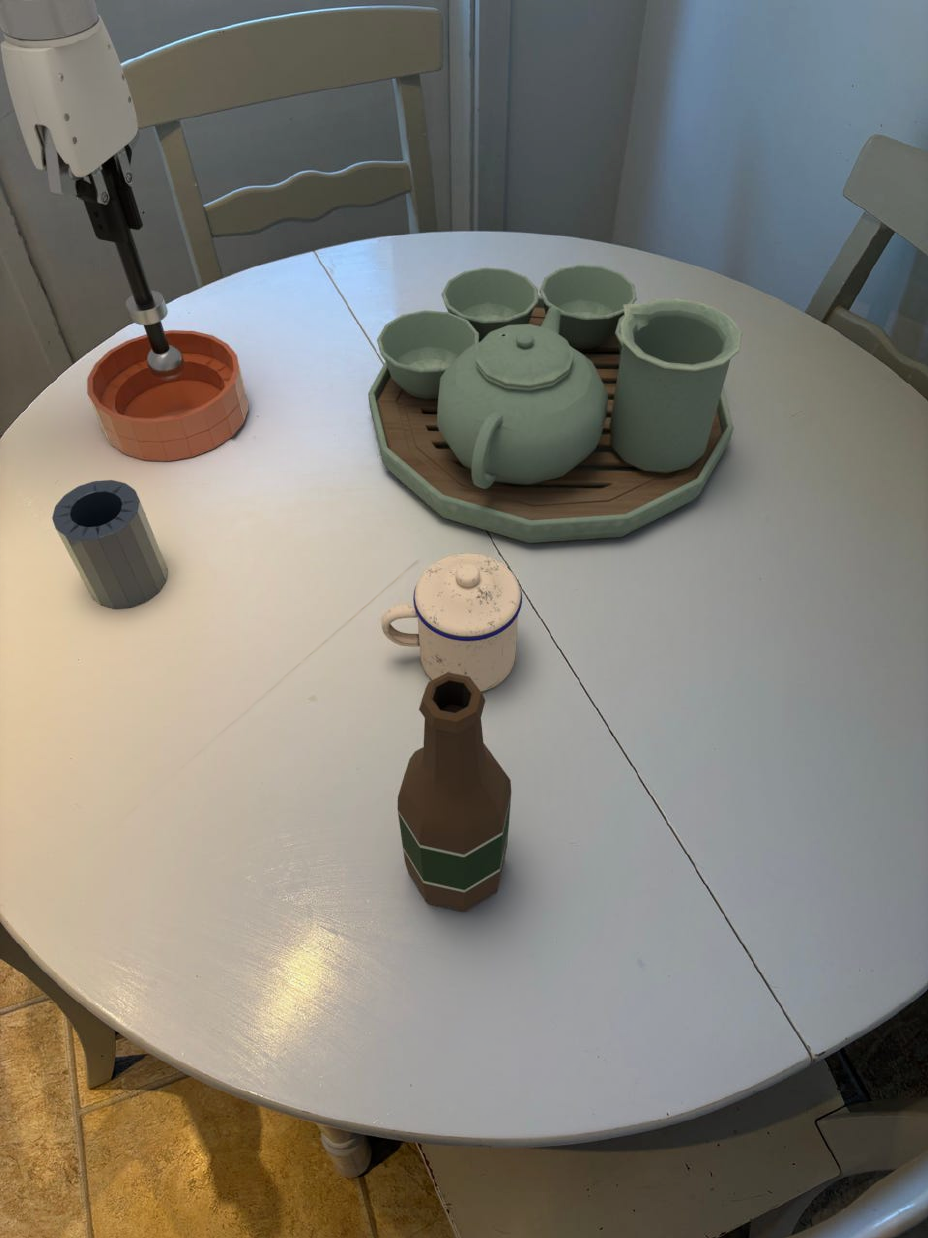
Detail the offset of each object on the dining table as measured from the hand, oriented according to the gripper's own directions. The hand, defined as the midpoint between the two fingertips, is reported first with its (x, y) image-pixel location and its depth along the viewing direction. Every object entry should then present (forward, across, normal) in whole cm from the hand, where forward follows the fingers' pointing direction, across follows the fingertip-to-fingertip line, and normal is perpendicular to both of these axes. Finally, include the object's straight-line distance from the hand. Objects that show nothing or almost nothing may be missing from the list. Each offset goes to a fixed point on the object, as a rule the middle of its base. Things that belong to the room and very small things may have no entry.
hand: (119, 231), depth 84 cm
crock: (+22, +24, +8) cm, 33 cm away
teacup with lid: (+22, +22, +41) cm, 51 cm away
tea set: (+23, -13, +40) cm, 47 cm away
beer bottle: (+22, +40, +48) cm, 66 cm away
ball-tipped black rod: (+17, 0, 0) cm, 17 cm away
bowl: (+22, 0, 0) cm, 22 cm away
